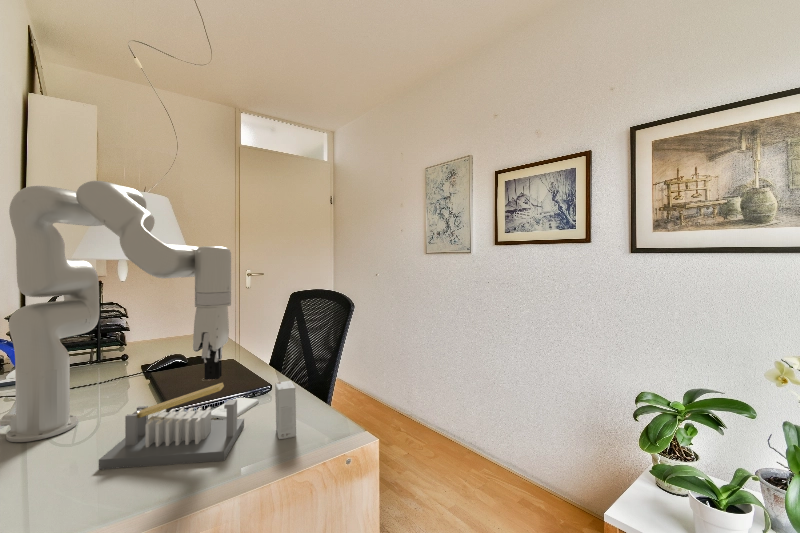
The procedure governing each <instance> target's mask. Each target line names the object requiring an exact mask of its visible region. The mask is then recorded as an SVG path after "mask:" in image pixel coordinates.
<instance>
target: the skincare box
mask: <svg viewBox="0 0 800 533" xmlns="http://www.w3.org/2000/svg"><path fill="white" fill-rule="evenodd" d="M274 387H275V389H274V390H275V393H274V395H275V426H276V428H275V429H276V434H277V437H278V439H279V440H283V439H284V440H285V439H291V438H295V437H297V407H296V406H297V405H296V404H297V401H296V400H297V398H296V396H297V395H296V386H295V385H294V383H293V381H292V380H286V381H278V382H276V383H275V385H274Z"/></svg>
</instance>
